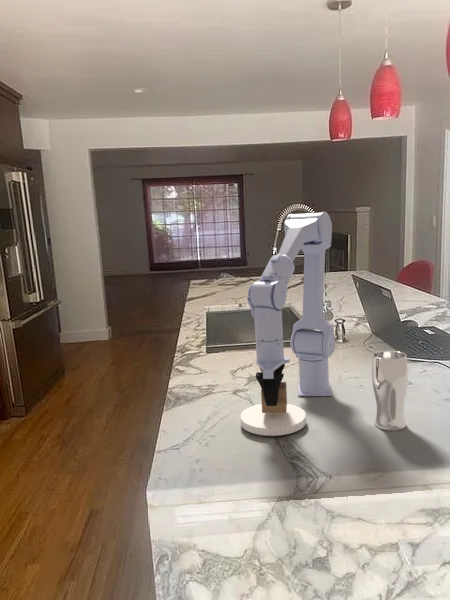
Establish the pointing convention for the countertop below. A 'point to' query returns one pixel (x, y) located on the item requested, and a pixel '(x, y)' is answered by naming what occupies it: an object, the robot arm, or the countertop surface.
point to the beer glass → (389, 388)
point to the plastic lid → (273, 420)
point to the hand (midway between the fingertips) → (272, 400)
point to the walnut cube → (281, 401)
